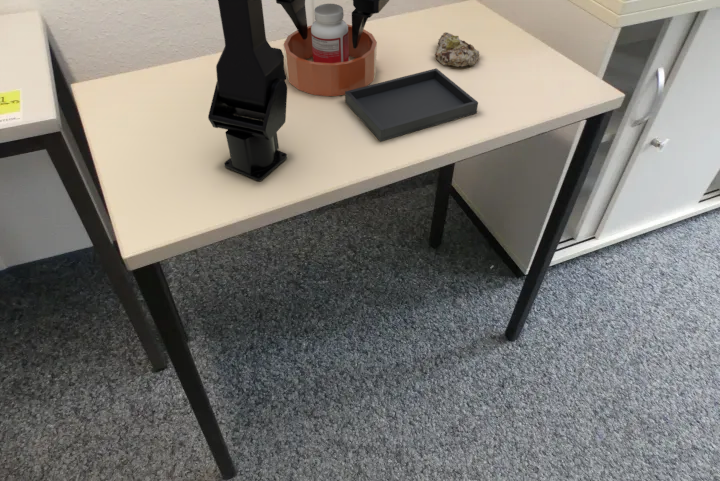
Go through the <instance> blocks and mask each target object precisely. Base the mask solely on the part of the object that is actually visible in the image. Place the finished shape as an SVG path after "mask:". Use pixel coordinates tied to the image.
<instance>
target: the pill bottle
mask: <svg viewBox="0 0 720 481" xmlns="http://www.w3.org/2000/svg"><path fill="white" fill-rule="evenodd" d="M313 11H314V21H313V22H312V24H311V25H312V26H311V25H310V26H311V37H312V51H313V57H312V62H320V63H338V62H346V61H350V56H349V43H348V26H347V24H348V23H347V22H346V21H345V20H344V8H343V6H342V5H340V4H336V3H323V4H320V5H317V6H315V7H314V10H313Z"/></svg>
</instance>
